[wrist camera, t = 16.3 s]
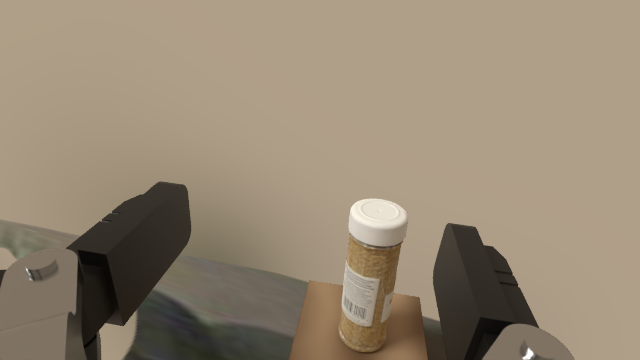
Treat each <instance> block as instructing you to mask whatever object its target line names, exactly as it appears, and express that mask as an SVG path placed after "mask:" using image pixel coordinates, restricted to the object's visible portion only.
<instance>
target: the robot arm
mask: <svg viewBox="0 0 640 360" xmlns="http://www.w3.org/2000/svg"><path fill="white" fill-rule="evenodd" d="M190 234H191V221H190V210H189V200H188V191H187V188H186V186H185V185H182V184H174V183H168V182H158V183H157V184H155V185H154V186H153V187H152V188H150V189H149V190H148V191H147V192H146V193H145V194H143V195H138V196H136V197H134V198H131V199H129V200H127V201H125V202H123V203H122V204H121V205H119V206H118V207H117V208H116V209H114V210H113V211H112V214H111V213H110V214H108V215H107V216H106V217H104V218H103V219H102V222H100V221H99V222H98V223H97V224H96V225H94V226H93V227H92V228H91V229H89V230H88V231H87V232H86V233H84V234H83V235H82V236H81V237H79V238H78V239H77V240H76V241H74V242H73V243H72V244H71V245H69V246H68V247H67V248H66V249H63V248H53V249H46V250H41V251H38V252H34V253H32V254H29V255H27V256H25V257H23V258H21V259H19V260H18V261H16V262H15V263H13V264H12V265H11V266H10V267H9V268H8V269H7V270H0V360H101V341H100V334H99V330H100V328H101V327H102V326H103V325H104V324H105V323H109V324H115V325H120V326H124V325H125V323H126V322H127V321H128V320H129V318H130V317H131V316H132V315H133V313H134V312H135V311H136V309H137V308H138V307H139V306H140V304H141V303H142V302H143V300H144V299H145V298H146V297H147V295H148V294H149V293H150V291H151V290H152V289H153V288H154V286H155V285H156V284H157V282H158V281H159V280H160V279H161V277H162V276H163V275H164V273H165V272H166V271H167V270H168V268H169V267H170V266H171V264H172V263H173V262H174V261H175V259H176V258H177V257H178V255H179V254H180V253H181V252H182V250H183V249H184V247H185V246H186V245H187V243H188V241H189V238H190ZM433 285H434V291H435V296H436V302H437V307H438V312H439V317H440V323H441V328H442V333H443V339H444V344H445V349H446V354H447V360H574V358H573V356H572V354H571V353H570V351H569V350H568V349H567V348H566V347H565V346H564V345H563V344H562V343H561V342H560V341H559V340H558V339H556V338H555V337H554V336H552V335H551V334H549V333H547V332H546V331H544V330H542V329H540V328H539V326H538V325H537V322H536V320H535V318H534V316H533V314H532V312H531V310H530V308H529V306H528V304H527V302H526V300H525V298H524V296H523V293H522V292H521V289H520V288H519V287H518V283H517V281H516V279H515V277H514V276H512V271H511V269H510V267H509V265H508V263H507V261H506V259H505V258H504V257H503V256H502V255H501V254H500V253H499V252H498V251H497V250H496V249H494V247H492V246H484V245H483V243H482V240H481V238H480V236H479V233H478V231H477V229H476V227H472V226H465V225H458V224H451V223H448V224H447V225H446V228H445V230H444V234H443V237H442V241H441V245H440V248H439V251H438V255H437V258H436V262H435V266H434V272H433Z"/></svg>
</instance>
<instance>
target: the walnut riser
mask: <svg viewBox="0 0 640 360" xmlns="http://www.w3.org/2000/svg"><path fill="white" fill-rule="evenodd" d="M342 294H343V286H342V285H335V284H329V283H323V282H316V281H309V284H308V288H307V292H306V295H305V299H304V303H303V307H302V311H301V315H300V318H299V322H298V326H297V330H296V334H295V338H294V341H293V345H292V349H291V353H290V357H289V360H428V358H427V350H426V343H425V335H424V328H423V320H422V313H421V305H420V298H419V297H414V296H407V295H401V294H394V293H393V298H392V304H391V310H390V314H389V317H388V323H387V328H386V332H387V335H386V340H385V342H384V344H383V345H382V346H381V347H380V348H379V349H378V350H375V351H373V352H359V351H356V350H353V349H351V348H350V347H348V346H347V345H346V344H345V343H344V342H343V341H342V339H341V338H340V335H339V331H338V327H339V324H340V321H341V312H342Z"/></svg>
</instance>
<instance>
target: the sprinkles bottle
mask: <svg viewBox="0 0 640 360" xmlns="http://www.w3.org/2000/svg"><path fill="white" fill-rule="evenodd" d="M407 224H408V215H407V213H406V211H405V210H404V209H403V208H402V207H400V206H399V205H398V204H395V203H393V202H390V201H387V200H383V199H364V200H361V201H359V202H356V203H355V204H354V205H353V206H352V208H351V210H350V217H349V231H350V233H349V235H350V237H349V246H348V254H347V258H346V266H345V275H344V284H343V294H342V312H341V321H340V324H339V327H338V331H339V335H340V338H341V339H342V341H343V342H344V343H345V344H346V345H347V346H348V347H350V348H351V349H353V350H356V351H359V352H373V351H375V350H378V349H379V348H380V347H381V346H382V345H383V344H384V342H385V340H386V335H387V332H386V328H387V323H388V317H389V314H390V310H391V304H392V298H393V292H394V286H395V280H396V271H397V265H398V260H399V254H400V248H401V243H402V242H403V239H404V238H405V236H406V230H407Z"/></svg>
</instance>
